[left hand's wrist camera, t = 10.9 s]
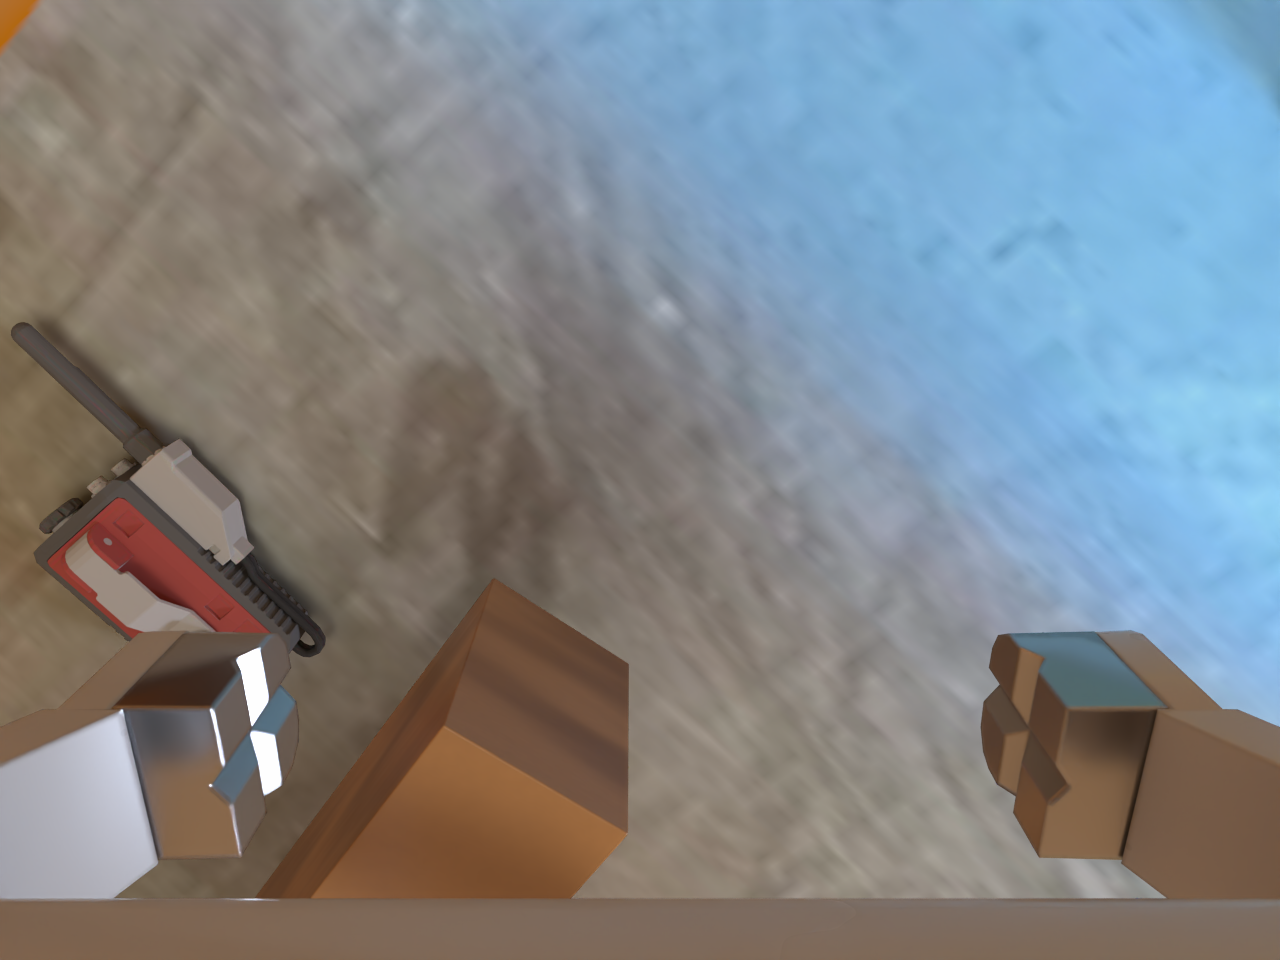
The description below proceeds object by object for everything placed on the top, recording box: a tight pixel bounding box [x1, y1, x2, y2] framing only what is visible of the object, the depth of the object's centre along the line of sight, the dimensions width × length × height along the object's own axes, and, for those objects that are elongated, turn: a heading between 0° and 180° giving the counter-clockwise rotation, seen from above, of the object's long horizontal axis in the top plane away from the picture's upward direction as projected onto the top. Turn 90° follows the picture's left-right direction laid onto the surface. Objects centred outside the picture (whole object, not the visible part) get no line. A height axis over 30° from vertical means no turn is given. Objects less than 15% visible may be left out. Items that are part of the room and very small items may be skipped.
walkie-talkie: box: [11, 322, 325, 657], centre depth 42 cm, size 9×4×20 cm
